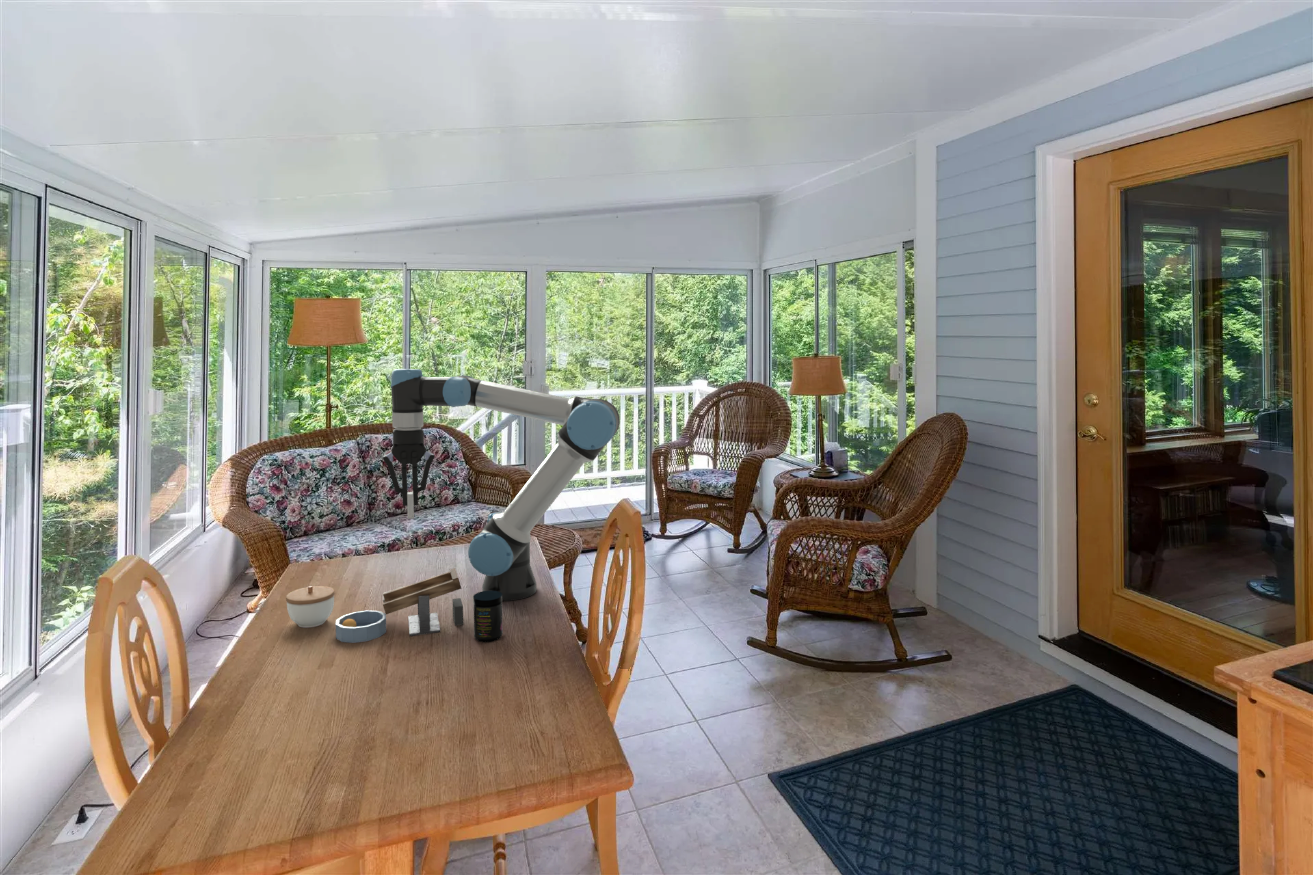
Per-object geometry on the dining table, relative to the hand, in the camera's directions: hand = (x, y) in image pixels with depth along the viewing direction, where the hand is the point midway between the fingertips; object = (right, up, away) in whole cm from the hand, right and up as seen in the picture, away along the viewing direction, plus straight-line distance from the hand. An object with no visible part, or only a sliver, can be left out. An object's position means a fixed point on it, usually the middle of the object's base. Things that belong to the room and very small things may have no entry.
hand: (410, 517), depth 175 cm
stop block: (+14, -25, -6) cm, 30 cm away
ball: (-9, -24, -16) cm, 30 cm away
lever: (+6, -18, -8) cm, 20 cm away
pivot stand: (+7, -26, -9) cm, 28 cm away
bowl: (-6, -26, -15) cm, 31 cm away
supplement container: (+25, -27, -16) cm, 40 cm away
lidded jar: (-22, -26, -9) cm, 35 cm away
